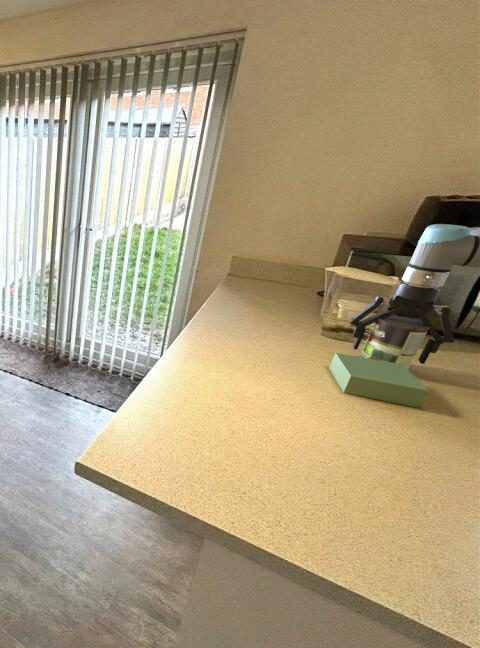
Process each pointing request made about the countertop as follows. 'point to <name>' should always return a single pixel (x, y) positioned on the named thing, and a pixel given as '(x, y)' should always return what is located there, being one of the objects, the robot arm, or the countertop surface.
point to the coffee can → (395, 340)
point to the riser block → (377, 380)
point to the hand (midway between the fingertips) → (386, 354)
